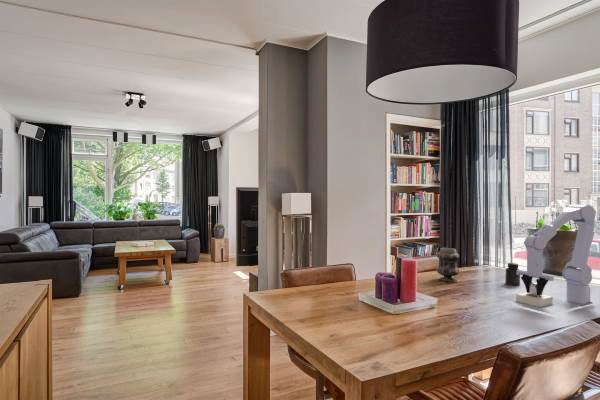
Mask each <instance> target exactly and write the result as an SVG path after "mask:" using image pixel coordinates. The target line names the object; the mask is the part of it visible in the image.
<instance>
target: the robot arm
mask: <svg viewBox="0 0 600 400" xmlns="http://www.w3.org/2000/svg"><path fill="white" fill-rule="evenodd" d="M596 215H597V211H596V210H595V208H594V207H593V206H592V205H590V204H567V205H566V206H565V207H564V208H563V209H562V212H561V213H560V214H558V215H557V216H556V217H555V219H554V220H552V221H551V223H550V224H548V223H547V224H543V225H541V226H540V228H539V229H538V230H536V231H535V232H533V234H532V235H531V234H530V235H528V236H526V238H525V240H524V241H523V244H524V246H525V249H526V254H527V255H526V270H522V269H519V270H517V275H520V280H522V281H523V285H524V287H525V292H527V293H529V283H530V282H533V278H535V281H536V283H537V287H538V292H537V293H538V295H539V296H540V295H543V291H544V289H545V287H546V285H547V283H548V282H553V281H554V278H555V276H554V275H551V274H546V273H543V260H544V259H543V253H544V251H543V250H544V249H545V248H547V245H548V244H547V243H548V242H549V241H550V240H551V239H552V238H554V236H556V235H557V230H559V229H560V228H561V227H563V226H564V225H565V224H568V222H570V221H572V222H573V223H574V224H576V225H577V228H578V229H577V233H576V237H575V243H574V247H573V252H572V257H571V260H570V261H568V262H566V264H565V267H564V268H563V270H562V273H561V274H562V277H563V279H564V280H565V282H566V301H567V302H570V303H573V304H574V303H575V304H581V305H579V306H580V307H586V306H589V305H592V304H594V303H593V302H591V288H590V286H589V284H590V283H591V282H592V279H593V274H592V271H593V269H592V267H591V266H589V264H588V260H589V255H590V250H591V245H592V241H593V234H594V232H595V231H594V230H595V226H596V225H595V224H596V223H595V219H596Z"/></svg>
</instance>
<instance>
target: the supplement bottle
mask: <svg viewBox="0 0 600 400" xmlns="http://www.w3.org/2000/svg"><path fill="white" fill-rule="evenodd" d="M517 270H520V269H519V264H518V263H515V262H509V263H508V262H507V268H505V272H504V273H505V275H504V279H505V281H504V283H505V285H507V286H512V287H519V286H521V275H517Z"/></svg>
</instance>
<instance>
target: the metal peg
mask: <svg viewBox="0 0 600 400" xmlns="http://www.w3.org/2000/svg"><path fill="white" fill-rule="evenodd" d="M537 292H538V287H537V282H535V281H534V282H533V281H532V282H530V283H529V296H532V297H536V298H538V297H540V296H539V295H538V293H537Z"/></svg>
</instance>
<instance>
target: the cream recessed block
mask: <svg viewBox="0 0 600 400" xmlns="http://www.w3.org/2000/svg"><path fill="white" fill-rule="evenodd" d="M499 298H500V299H501V298H502V299H505V300H509V301H512V302H516V303H520V304H524V305H528V306H533V307H536V308H540V309H543V308H548V307H550V306H553V305H559V304H562V303H565V302H566V301H567V300H561V299H556V298H553V296H550V295H546V294H542V295H540V297H538V298H536V297H532V296H529V293H527V291H523V292H517V293H514V294H509V295H504V296H503V295H502V296H500V297H499Z"/></svg>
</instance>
